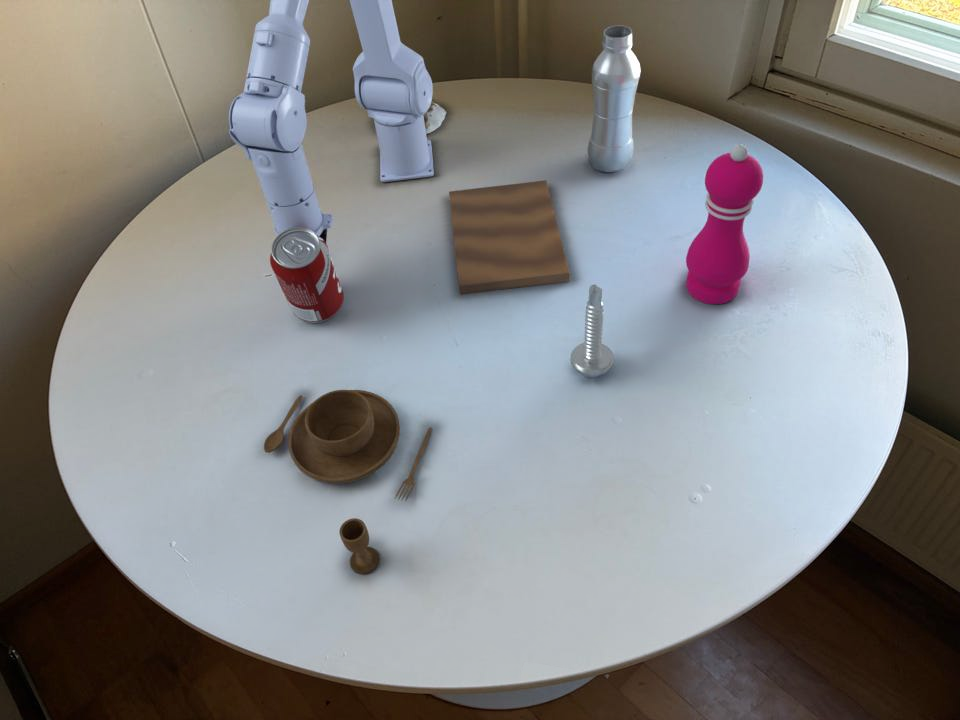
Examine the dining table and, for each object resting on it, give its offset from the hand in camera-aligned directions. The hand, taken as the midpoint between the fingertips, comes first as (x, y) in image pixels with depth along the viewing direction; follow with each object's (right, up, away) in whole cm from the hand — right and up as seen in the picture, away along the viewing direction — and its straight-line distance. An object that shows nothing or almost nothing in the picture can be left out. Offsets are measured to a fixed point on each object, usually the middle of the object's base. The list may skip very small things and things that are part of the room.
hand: (316, 279), depth 98 cm
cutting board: (+25, +6, +5) cm, 26 cm away
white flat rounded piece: (+10, +29, +27) cm, 41 cm away
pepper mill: (+50, -2, -4) cm, 50 cm away
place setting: (+6, -22, -18) cm, 29 cm away
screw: (+34, -12, -11) cm, 37 cm away
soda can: (+1, -3, -2) cm, 4 cm away
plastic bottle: (+40, +18, +15) cm, 47 cm away
